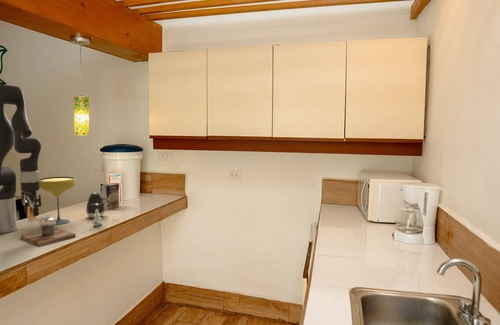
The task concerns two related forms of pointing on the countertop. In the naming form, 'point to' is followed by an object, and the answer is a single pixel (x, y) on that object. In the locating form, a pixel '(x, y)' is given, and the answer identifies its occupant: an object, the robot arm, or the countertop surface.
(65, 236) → the base board
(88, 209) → the black egg-shaped body
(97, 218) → the valve
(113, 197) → the coffee box
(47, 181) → the cocktail glass
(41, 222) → the coupling
